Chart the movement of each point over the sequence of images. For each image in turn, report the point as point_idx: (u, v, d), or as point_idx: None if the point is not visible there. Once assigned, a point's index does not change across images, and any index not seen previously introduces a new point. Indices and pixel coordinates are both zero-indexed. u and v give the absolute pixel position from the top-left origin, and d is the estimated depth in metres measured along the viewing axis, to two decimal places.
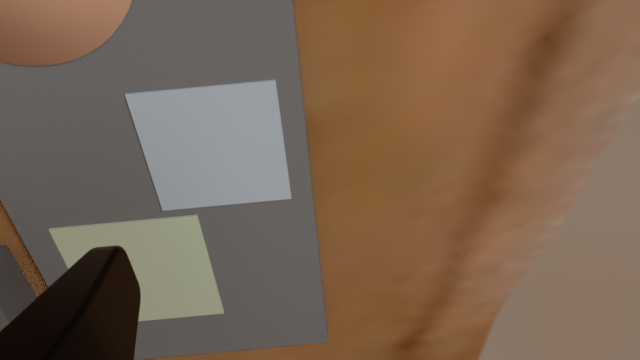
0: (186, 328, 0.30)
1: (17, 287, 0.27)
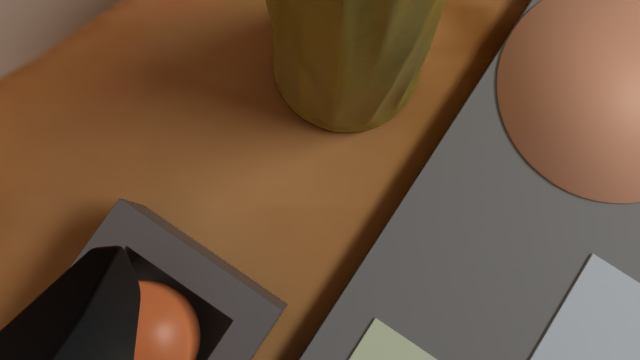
0: None
1: None
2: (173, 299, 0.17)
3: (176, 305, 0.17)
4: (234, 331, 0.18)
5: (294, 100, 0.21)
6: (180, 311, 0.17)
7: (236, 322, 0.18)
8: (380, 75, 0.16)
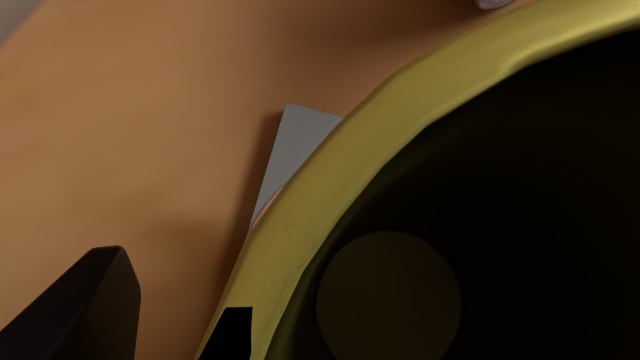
0: None
1: None
2: None
3: None
4: None
5: None
6: None
7: None
8: None
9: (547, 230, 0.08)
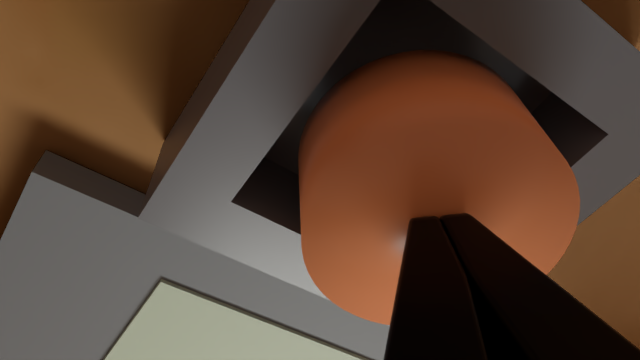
0: None
1: None
2: None
3: None
4: None
5: None
6: None
7: None
8: None
9: None
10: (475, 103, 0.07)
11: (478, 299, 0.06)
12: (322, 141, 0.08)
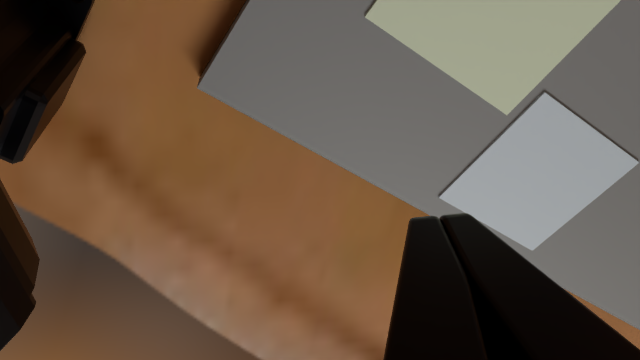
0: None
1: None
2: None
3: None
4: None
5: None
6: None
7: None
8: None
9: None
10: None
11: (478, 299, 0.06)
12: None
